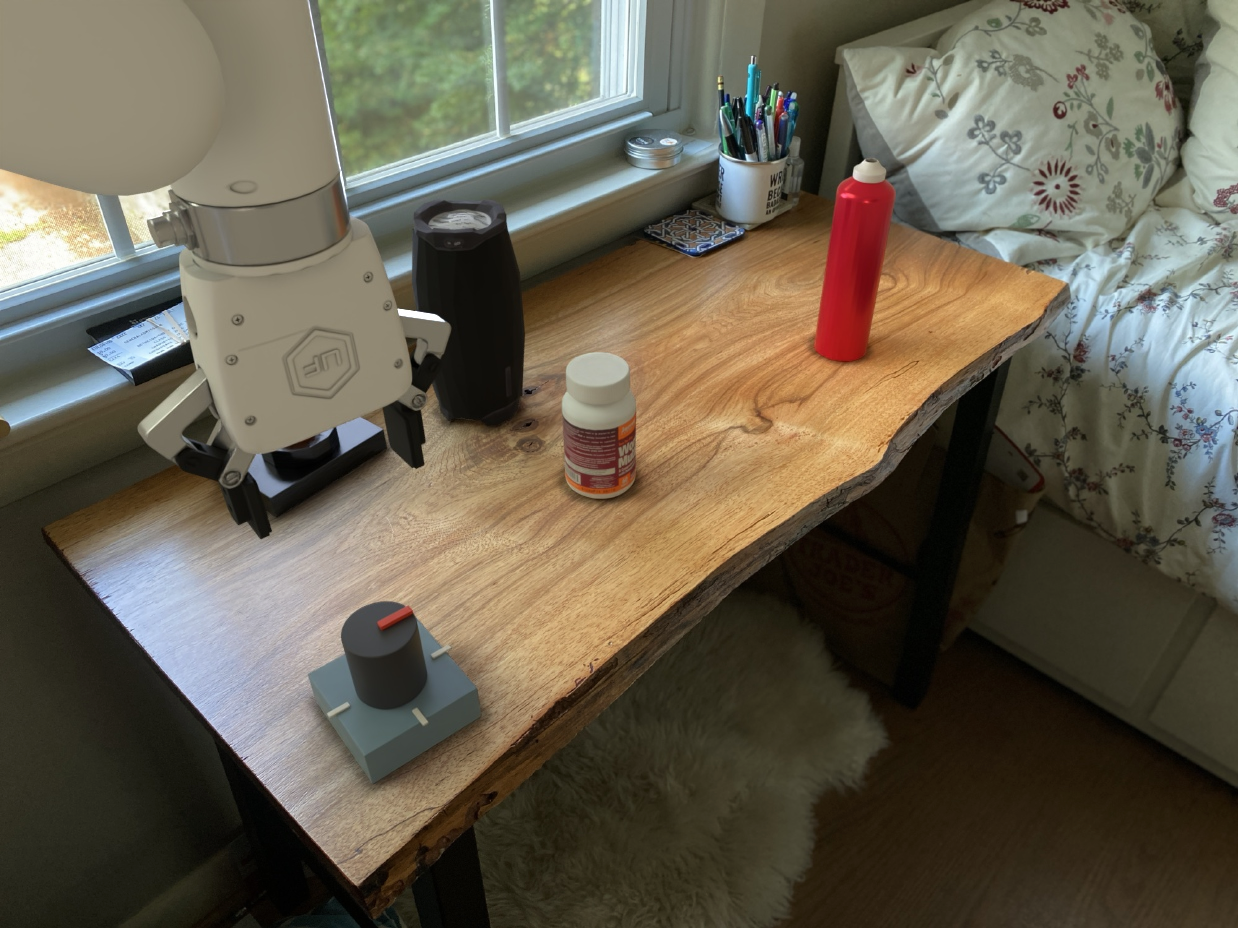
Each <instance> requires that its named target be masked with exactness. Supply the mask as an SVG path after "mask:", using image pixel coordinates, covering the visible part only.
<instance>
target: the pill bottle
mask: <svg viewBox="0 0 1238 928" xmlns="http://www.w3.org/2000/svg"><path fill="white" fill-rule="evenodd" d="M565 389H566V392H565V393H564V395H563V397H562V399H561V419H562V435H563V436H562V437H563V438H562V439H563V458H564V459H563V460H564V476H565V481H566V484H567V485H568V487H569V488H570V489H571V490H573V492H575V493H577V494H578V495H581V496H583V497H586V498H591V499H596V500H597V499H600V500H601V499H605V500H606V499H611V498H615V497H618V496H621V495H622V494H624V493H625V492H627V491H628V490H629V489H630V488H631V487H632V485H634V483H635V479H636V474H637V473H636V472H637V467H636V466H637V445H636V444H637V401H636V400H637V399H636V397H635V395H634V393H633V391H632V390H631V369H630V365H629V363H628V362H627V361H626V360H625V359H624V358H623V357H621V356H618V355H617V354H613V353H610V352H605V351H604V352H603V351H595V352H594V351H593V352H586V353H583V354H580V355H578V356H576V357H573V358H572V359H571V360H570V361H569V362H568V364H567V365H566V368H565Z"/></svg>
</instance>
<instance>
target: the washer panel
mask: <svg viewBox="0 0 1238 928" xmlns="http://www.w3.org/2000/svg"><path fill="white" fill-rule="evenodd" d="M415 617H416V620H417V624H418V629H419V634H420V639H421V644H422V649H423V654H424V659H425V664H426V669H427V681H426V684H425V686H424V688H423V690H422V691H421V692H420V694H419V695H418V696H417V697H416V698H414V699H413V700H412V701H410V702H409V703H407V704H405V705H402V706H400V707H396V708H392V709H378V708H373V707H371V706H368V705H366V704H365V703H364V702H362V701H361V700H360V699H359V697H358V696H357V694H356V691H355V687H354V684H353V680H352V677H351V673H350V670H349V666H348V662H347V659H346V655H345V653H344V654H342V655H340V656H339V657H337V658H334V659H333V660H331V661H329V662H327V663H325V664H323V665H322V666H319V667H318V668H316V669H314V670H312V671H311V672H308V673H307V677H308V680H309V683H310V686H311V690H312V693H313V696H314V700H315V702H316V704H317V705H318V707H319V708H320V710H321V711H322V713H323V714H324V716H325V717H326V718H327V720H328V722H329V723H330V725H331V726H332V728H333V729H334V730H335V732H336V733H337V734H338V736H339V737H340V739H341V740H342V742H343V743H344V745H345V746H346V748H347V749H348V750H349V752H350V754H351V755H352V756H353V758H354V759H355V761H356V762H357V764H358V765H359V767H360V768H361V770H362V771H363V772H364V774H365V775H366V777H367V779H368V780H369V781H370V783H371V784H375V783H377V782H379V781H380V780H382V779H384V778H385V777H386V776H389V774H391V773H393V772H395V771H396V770H398V769H399V768H401V767H402V766H404V765H406V764H407V763H409V762H411V761H412V760H414V759H415V758H417V757H418V756H420V755H421V754H423V753H425V752H427V751H429V749H431V748H433V747H434V746H437V744H439V743H441V742H443V741H444V740H446V739H447V738H450V736H452V735H454V734H455V733H457V732H459V731H460V730H462V729H463V728H465V727H466V726H468V725H470V724H471V723H473V722H475V721H477V720H478V719H479V718H481V717H482V712H481V710H482V709H481V703H480V697H479V691H478V686H477V685H475V683H474V682H473V681H472V680H471V679H470V678H469V676H468V675H467V674H466V673H465V672H464V671H463V669H462V668H461V667H460V666H459V665H458V663H456V661H455V660H454V659H453V658H452V656H451V655H450V654H449V653H448V652H449V651H451V650H452V646H451V645H450V644H447V645H445V646H444V647H443V646H442V645H441V644H440V643H439V642H438V641H437V639H436V638H435V637H434V635H432V634H431V633H430V631H429V630H428V629H427V627H425V626H424V625H423V623H422V622H421V621H420V620H419V618H418V617H417V616H416V615H415Z"/></svg>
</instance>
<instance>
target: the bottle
mask: <svg viewBox="0 0 1238 928" xmlns="http://www.w3.org/2000/svg"><path fill="white" fill-rule="evenodd" d="M886 176H887V170H886V168H885V167H884V166H882V164H881V162H880V161H879V160H878V159H877V158H874V157H867V158H864V159H863V160H862V161H861V162H860V163H859V164H856V165H855V166H853V171H852V175H851V176H849V177H848V178H845V179H844V180H842V181H841V182H840V183H839V184H838V186H837V188H836V193H835V200H834V207H833V213H832V221H831V227H830V234H829V241H828V248H827V253H826V260H825V267H824V275H823V280H822V289H821V295H820V300H819V301H820V302H819V310H818V314H817V321H816V329H815V336H814V343H813V347H814V350H815V352H817V353H818V354H819V355H820V356H821V357H824V358H826V359H828V360H832V361H836V362H837V361H838V362H853V361H857V360H860V359H861V358H863V357H864V356H865V355H866V353H867V351H868V345H869V340H870V335H871V330H872V324H873V320H874V315H875V309H876V303H877V298H878V293H879V286H880V283H881V277H882V271H883V267H884V262H885V261H884V260H885V255H886V251H887V245H888V239H889V234H890V230H891V229H890V228H891V223H892V218H893V213H894V207H895V202H896V197H897V192H896V188H895V187H894V186H893V184H891V183H890V182H889V181H888V180H887V179H886Z"/></svg>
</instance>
